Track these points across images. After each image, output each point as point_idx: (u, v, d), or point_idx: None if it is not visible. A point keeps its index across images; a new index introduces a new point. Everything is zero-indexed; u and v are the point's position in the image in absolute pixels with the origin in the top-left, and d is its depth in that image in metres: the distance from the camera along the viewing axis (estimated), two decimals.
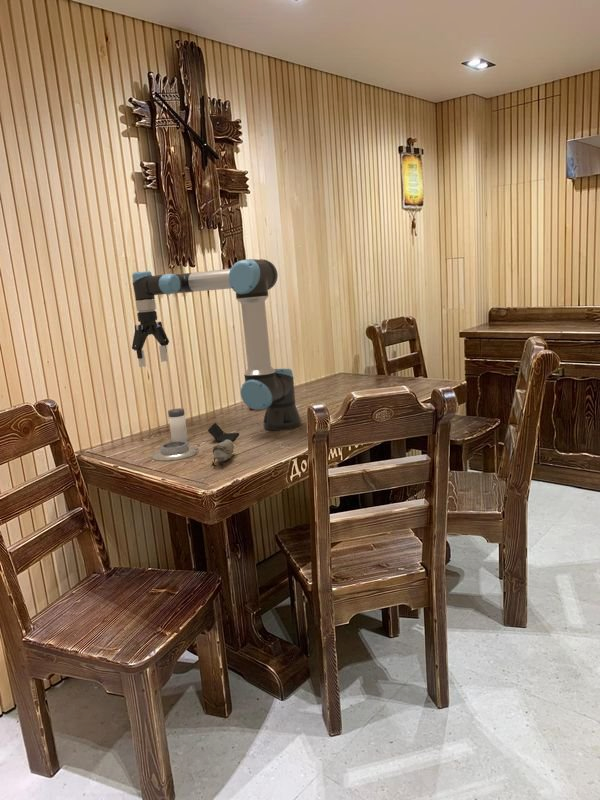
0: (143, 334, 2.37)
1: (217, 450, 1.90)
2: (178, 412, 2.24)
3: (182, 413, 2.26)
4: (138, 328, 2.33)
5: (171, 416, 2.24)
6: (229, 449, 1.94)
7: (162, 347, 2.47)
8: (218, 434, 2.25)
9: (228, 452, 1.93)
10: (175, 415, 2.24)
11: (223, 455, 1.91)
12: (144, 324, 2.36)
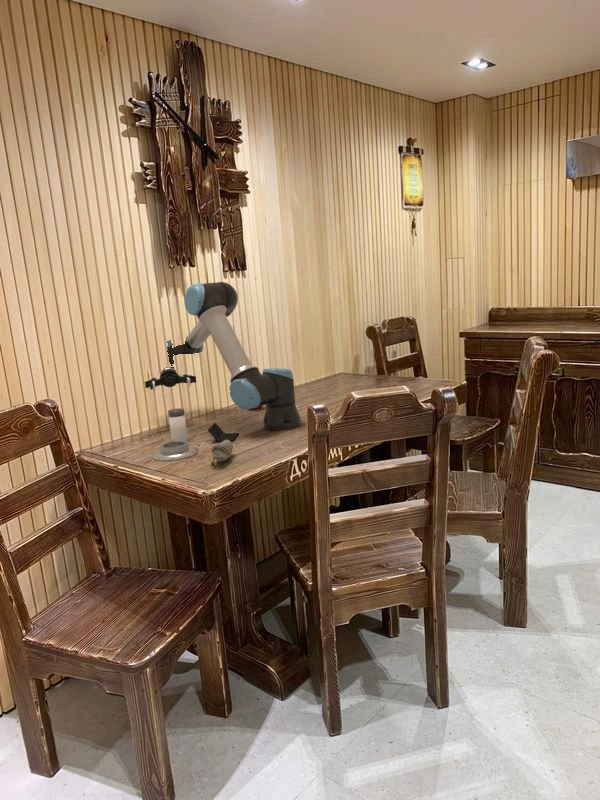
0: None
1: (216, 450, 1.90)
2: (178, 412, 2.24)
3: (182, 413, 2.26)
4: (152, 379, 2.47)
5: (171, 416, 2.24)
6: (228, 449, 1.94)
7: (187, 380, 2.41)
8: (218, 434, 2.25)
9: (227, 452, 1.93)
10: (175, 415, 2.24)
11: (222, 455, 1.91)
12: None
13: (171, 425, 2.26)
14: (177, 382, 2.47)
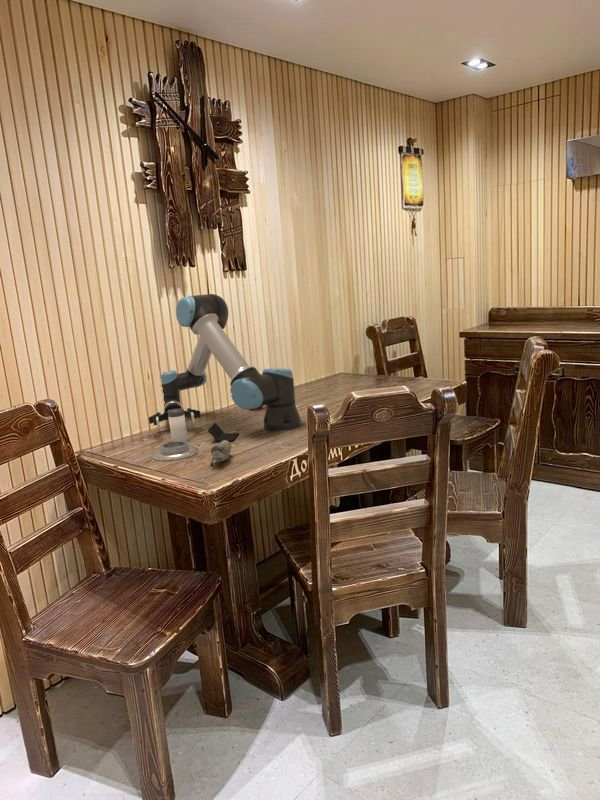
0: None
1: (216, 451, 1.89)
2: (178, 412, 2.24)
3: (182, 413, 2.26)
4: None
5: (171, 416, 2.24)
6: (227, 450, 1.94)
7: (191, 415, 2.39)
8: (218, 434, 2.25)
9: (226, 453, 1.93)
10: (175, 415, 2.24)
11: (221, 456, 1.91)
12: (164, 412, 2.47)
13: (171, 425, 2.26)
14: None
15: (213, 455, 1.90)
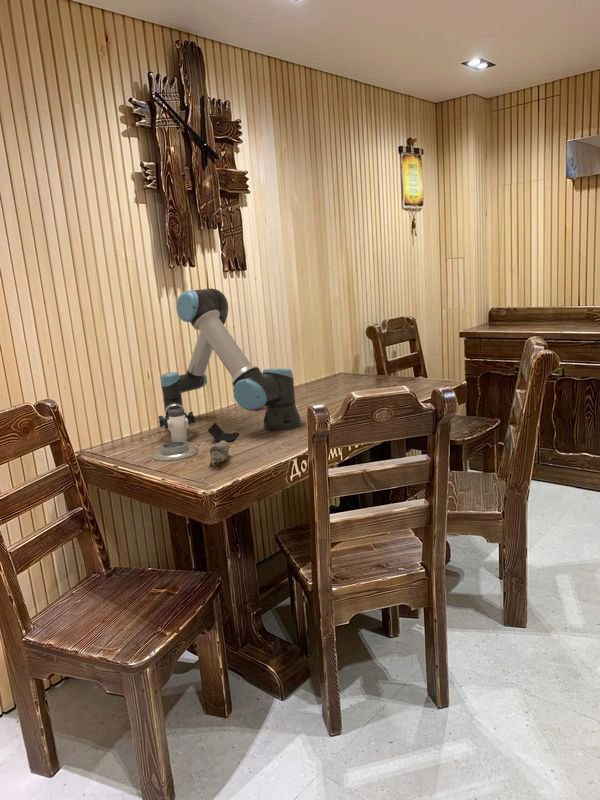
0: None
1: (215, 451, 1.89)
2: (178, 412, 2.24)
3: (182, 413, 2.26)
4: (159, 418, 2.36)
5: (171, 416, 2.25)
6: (226, 450, 1.94)
7: None
8: (218, 434, 2.25)
9: (225, 453, 1.93)
10: (175, 415, 2.24)
11: (221, 456, 1.90)
12: None
13: (171, 425, 2.26)
14: None
15: (212, 455, 1.90)
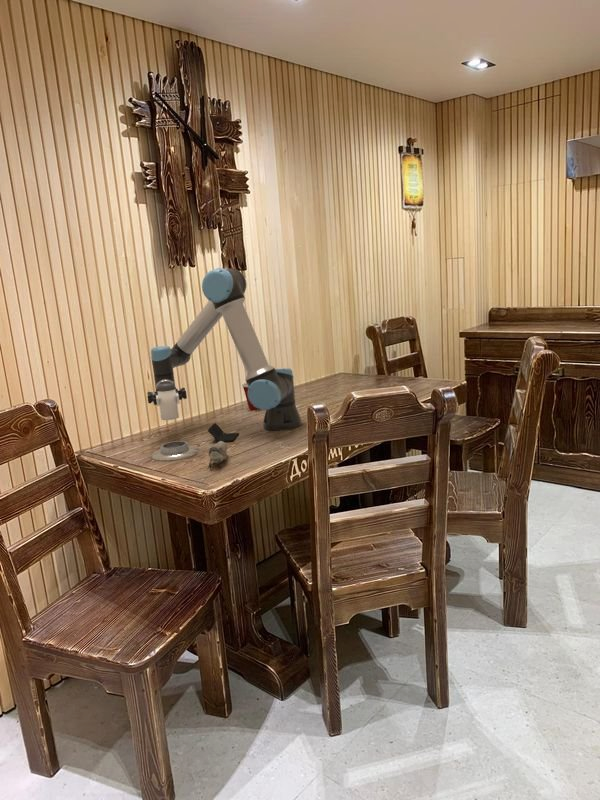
0: None
1: (214, 451, 1.88)
2: (168, 386, 2.04)
3: (172, 387, 2.05)
4: (148, 394, 2.15)
5: (160, 390, 2.04)
6: (224, 450, 1.93)
7: None
8: (218, 434, 2.25)
9: (224, 453, 1.92)
10: (165, 389, 2.04)
11: (219, 456, 1.90)
12: (155, 391, 2.18)
13: (160, 400, 2.05)
14: None
15: (211, 456, 1.89)
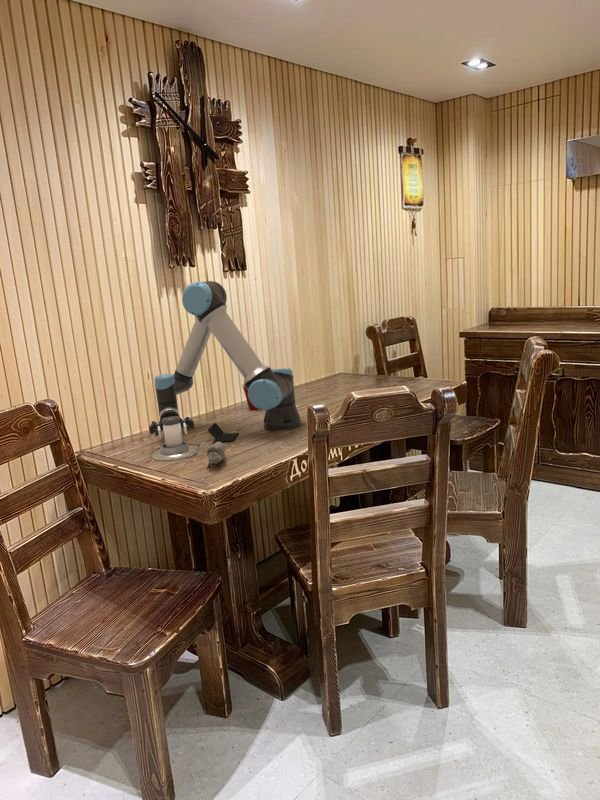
0: None
1: (212, 452, 1.88)
2: (173, 420, 2.06)
3: (177, 421, 2.07)
4: (152, 423, 2.17)
5: (165, 424, 2.06)
6: (223, 451, 1.93)
7: (183, 426, 2.11)
8: (218, 434, 2.25)
9: (222, 454, 1.92)
10: (170, 423, 2.06)
11: (218, 457, 1.89)
12: (160, 420, 2.20)
13: (166, 434, 2.07)
14: None
15: (210, 457, 1.89)
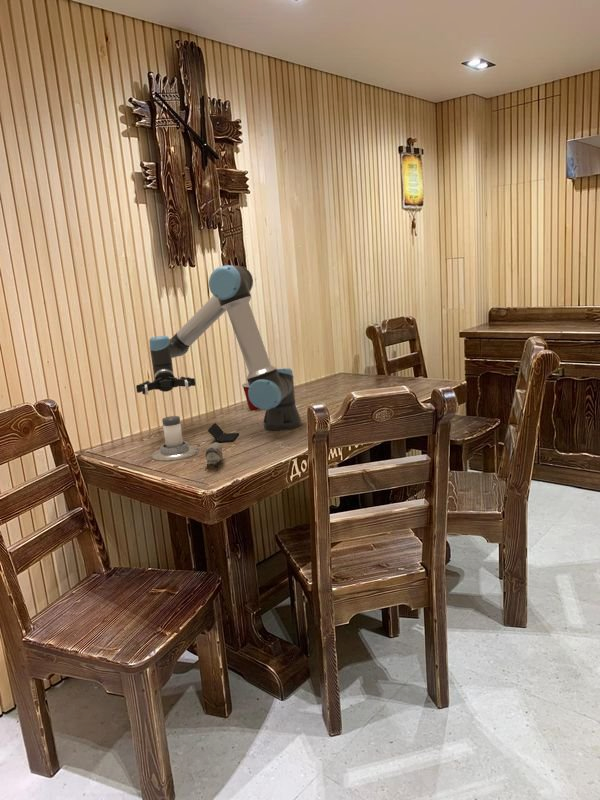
0: None
1: (211, 453, 1.87)
2: (173, 420, 2.06)
3: (178, 421, 2.07)
4: None
5: (166, 425, 2.06)
6: (221, 451, 1.92)
7: None
8: (218, 434, 2.25)
9: (221, 454, 1.91)
10: (170, 423, 2.06)
11: (217, 458, 1.89)
12: None
13: (166, 434, 2.07)
14: (174, 385, 2.15)
15: (208, 457, 1.88)
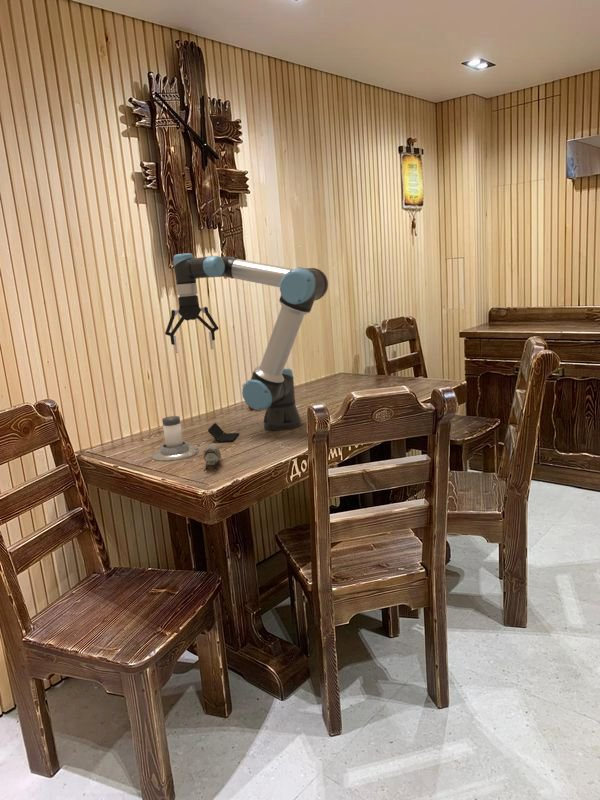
0: (179, 320, 2.28)
1: (210, 453, 1.87)
2: (173, 420, 2.06)
3: (178, 421, 2.07)
4: (171, 313, 2.27)
5: (166, 425, 2.06)
6: (219, 452, 1.92)
7: (209, 334, 2.32)
8: (218, 434, 2.25)
9: (219, 455, 1.91)
10: (170, 423, 2.06)
11: (216, 458, 1.88)
12: (180, 309, 2.27)
13: (166, 434, 2.07)
14: (197, 318, 2.31)
15: (207, 458, 1.87)
